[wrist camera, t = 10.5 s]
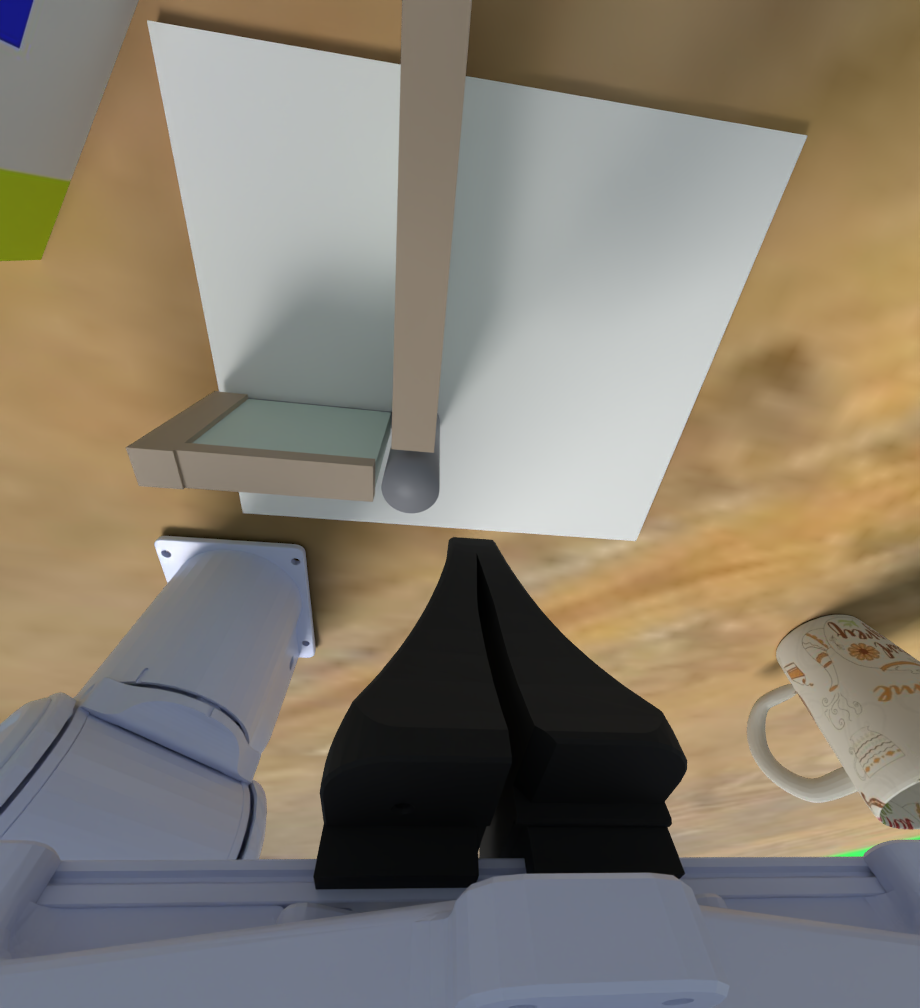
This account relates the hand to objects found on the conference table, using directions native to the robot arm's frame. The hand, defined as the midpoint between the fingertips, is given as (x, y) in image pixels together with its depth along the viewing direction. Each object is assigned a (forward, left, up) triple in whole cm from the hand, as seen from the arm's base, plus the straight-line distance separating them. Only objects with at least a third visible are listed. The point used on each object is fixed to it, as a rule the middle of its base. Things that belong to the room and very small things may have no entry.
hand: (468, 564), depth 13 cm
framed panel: (+9, +2, -9) cm, 12 cm away
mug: (-15, -27, -10) cm, 32 cm away
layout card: (+4, 0, -9) cm, 10 cm away
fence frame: (+1, +6, -9) cm, 11 cm away
